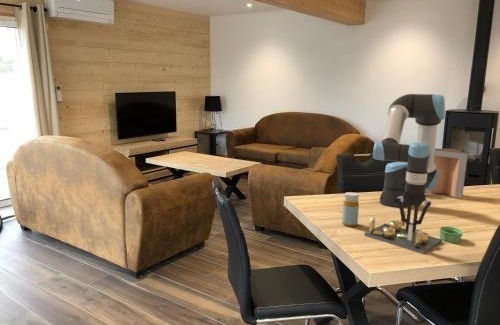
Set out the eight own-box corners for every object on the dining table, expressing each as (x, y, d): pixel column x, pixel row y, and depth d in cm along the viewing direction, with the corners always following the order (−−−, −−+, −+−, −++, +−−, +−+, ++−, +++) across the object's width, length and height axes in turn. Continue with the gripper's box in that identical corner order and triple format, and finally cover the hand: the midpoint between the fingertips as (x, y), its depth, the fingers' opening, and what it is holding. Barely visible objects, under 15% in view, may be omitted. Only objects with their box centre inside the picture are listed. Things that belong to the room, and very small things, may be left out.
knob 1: (395, 234, 169) (396, 220, 168) (393, 238, 165) (395, 223, 163) (370, 230, 174) (371, 216, 172) (368, 234, 169) (369, 219, 168)
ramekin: (451, 245, 163) (452, 235, 162) (433, 237, 171) (434, 227, 170) (466, 242, 167) (467, 232, 166) (448, 234, 175) (449, 225, 174)
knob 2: (397, 231, 173) (399, 217, 171) (387, 228, 176) (388, 214, 175) (408, 226, 180) (410, 212, 179) (398, 223, 183) (399, 209, 182)
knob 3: (416, 237, 166) (418, 222, 165) (429, 240, 163) (430, 225, 162) (410, 245, 158) (411, 230, 157) (423, 248, 155) (425, 232, 154)
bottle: (348, 228, 181) (351, 196, 178) (338, 223, 187) (340, 192, 184) (360, 225, 184) (362, 194, 181) (350, 221, 190) (352, 191, 187)
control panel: (364, 235, 172) (364, 231, 172) (384, 225, 184) (385, 221, 184) (423, 254, 153) (424, 249, 153) (442, 242, 166) (442, 237, 165)
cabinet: (424, 192, 244) (429, 148, 238) (430, 190, 251) (434, 146, 245) (461, 199, 230) (467, 152, 224) (465, 196, 237) (471, 150, 231)
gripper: (397, 182, 154) (391, 239, 159) (433, 186, 148) (426, 245, 153) (399, 178, 161) (394, 233, 165) (434, 182, 155) (427, 239, 160)
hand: (409, 239), depth 159 cm, fingers closed
